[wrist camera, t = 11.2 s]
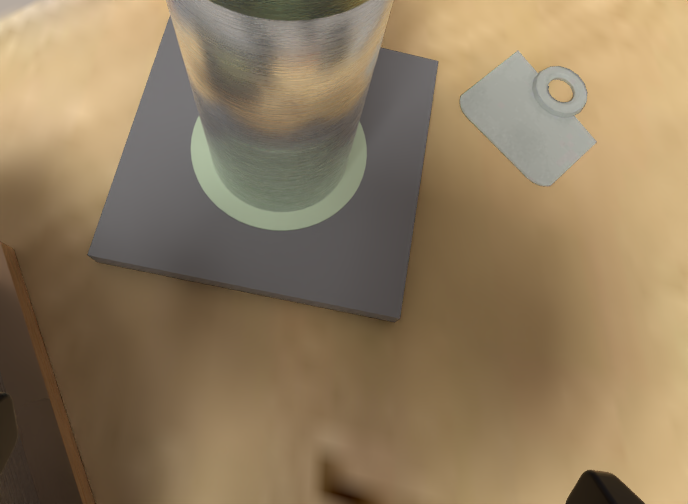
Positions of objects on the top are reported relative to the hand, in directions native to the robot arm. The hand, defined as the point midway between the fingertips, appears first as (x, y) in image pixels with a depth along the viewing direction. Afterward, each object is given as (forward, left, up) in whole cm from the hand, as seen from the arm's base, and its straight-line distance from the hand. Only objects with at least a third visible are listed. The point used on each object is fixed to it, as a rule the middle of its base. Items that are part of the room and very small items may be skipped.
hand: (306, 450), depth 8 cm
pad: (+10, -4, -12) cm, 16 cm away
